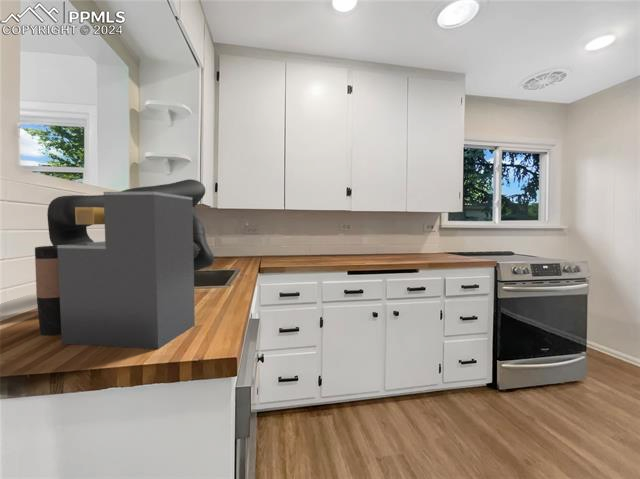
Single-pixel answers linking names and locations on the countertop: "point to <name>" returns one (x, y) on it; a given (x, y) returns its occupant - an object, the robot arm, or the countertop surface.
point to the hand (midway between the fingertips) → (139, 212)
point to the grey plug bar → (89, 215)
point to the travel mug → (48, 290)
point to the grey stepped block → (131, 274)
